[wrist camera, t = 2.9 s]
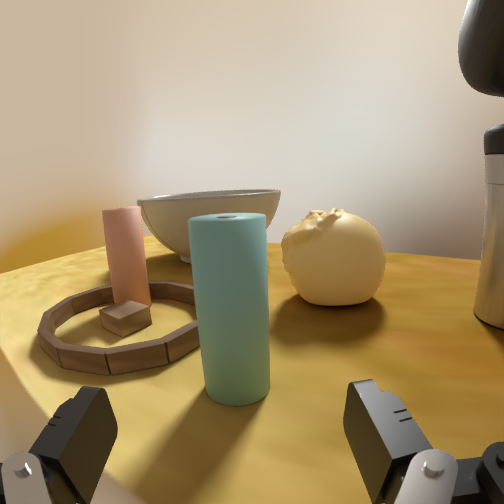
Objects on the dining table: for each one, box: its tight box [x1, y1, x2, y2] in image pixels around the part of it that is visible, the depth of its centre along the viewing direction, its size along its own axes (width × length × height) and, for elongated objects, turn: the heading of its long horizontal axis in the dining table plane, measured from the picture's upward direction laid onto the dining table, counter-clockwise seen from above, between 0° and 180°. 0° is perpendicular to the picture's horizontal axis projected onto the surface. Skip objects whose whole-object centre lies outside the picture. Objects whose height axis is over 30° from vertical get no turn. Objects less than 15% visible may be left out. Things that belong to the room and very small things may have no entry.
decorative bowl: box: [137, 189, 281, 264], centre depth 61 cm, size 27×27×12 cm
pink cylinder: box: [102, 206, 152, 308], centre depth 36 cm, size 5×5×12 cm
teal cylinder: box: [188, 213, 270, 406], centre depth 20 cm, size 5×5×12 cm
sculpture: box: [281, 208, 385, 306], centre depth 37 cm, size 12×12×11 cm
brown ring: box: [37, 281, 200, 375], centre depth 32 cm, size 19×19×2 cm
